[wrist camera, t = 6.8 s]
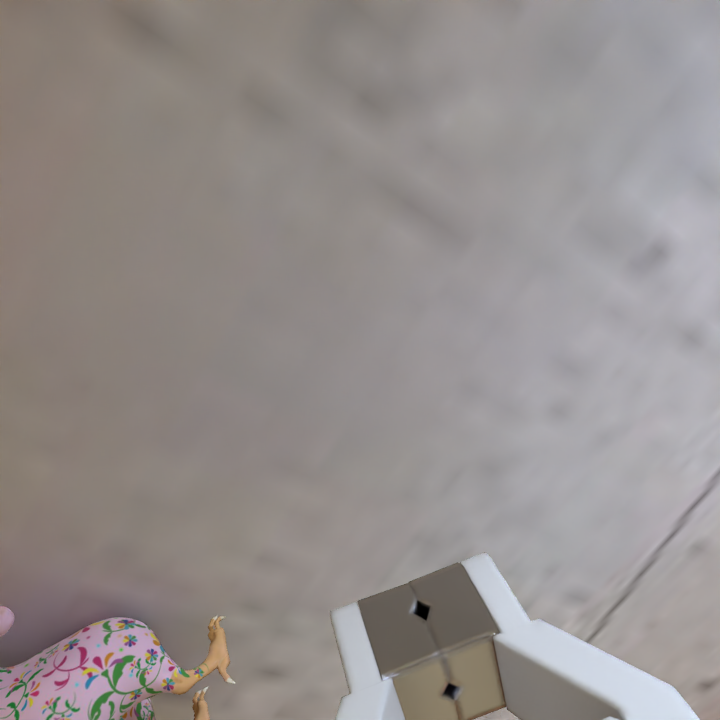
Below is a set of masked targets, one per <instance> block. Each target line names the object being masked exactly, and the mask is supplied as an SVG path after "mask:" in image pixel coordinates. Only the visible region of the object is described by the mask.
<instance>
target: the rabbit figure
mask: <svg viewBox="0 0 720 720" xmlns="http://www.w3.org/2000/svg"><path fill="white" fill-rule="evenodd" d="M217 617H218V615H216V616H215V617H213V618H212V619H211V621H210V624H209V626H208V628H209V631H210V632H209V634H208V637H209V639H210V640H211V643H210V647H209V652H208V656H207V658H206V659H205V661H204V662H203V663H202V664H201V665H199V666H198V667H196V668H194V669H191V670H184V669H182V668H180V667H179V666H178V665H177V664H176V663H175V662H174V661H173V660H172V659H171V658H170V657H169V655H168V654H167V653H166V652H165V650H164V649H163V647H162V645H161V643H160V641H159V640H158V638H157V636H156V635H155V633H154V632H153V631H152V630H151V629H150V628H149V627H148V626H147V625H146V624H144V623H143V622H140V621H138V620H135V619H131V618H122V617H116V618H108V619H104V620H101V621H98V622H95V623H93V624H91V625H89V626H87V627H85V628H83V629H81V630H79V631H77V632H76V633H74V634H72V635H70V636H69V637H67V638H65V639H63V640H61V641H60V642H58V643H56V644H54V645H52V646H50V647H48V648H47V649H45V650H43V651H41V652H40V653H38V654H36V655H35V656H33V657H32V658H30V659H28V660H27V661H25V662H23V663H21V664H18V665H15V666H12V667H6V668H0V720H156V719H155V715H154V711H153V706H152V703H151V700H150V697H153V696H155V695H157V694H159V693H163V692H170V693H173V694H178V695H180V694H184V693H186V692H187V691H188V690H189V689H190V688H191V687H192V686H193V685H194V684H195V683H197V682H198V681H199V680H201V679H202V678H204V677H205V676H207V675H208V674H210V673H211V672H212V671H213V670H215V669H216V668H217V669H218V671H219V673H220V674H221V675H222V677H223V679H224V680H225V681H226V683H231V684H236V683H235V682H234V681H233V680H232V678H231V677H230V676H229V675H228V674H227V673H226V669H227V667H228V665H229V664H230V659H229V654H228V651H227V645H226V637H225V632H224V629H223V628H220V625H219V621H221V620H223V619H224V618H226V617H225V616H219V617H218V618H217ZM13 622H14V614H13V612H12V611H11V610H10V609H9V608H7V607H5V606H0V637H1V636H3V635H4V634H5V633H6V632H7V631H9V629H10V628H11V626H12V624H13ZM213 625H215V628H216V629H215V630H214V629H213ZM208 688H209V687H206V688H204V689H203V690H200V691H197V692H196V693H195V695H194V698H193V703H194V705H193V707H192V708H193V710H194V713H195V714H194V717H195V718H194V720H210V718H209V712H208V706H207V703H206V702H205V701H204V695H205V693H206V691H207V689H208ZM201 691H202V692H201ZM199 695H200V700H199V701H197V698H198V697H199Z"/></svg>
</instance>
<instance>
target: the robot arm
mask: <svg viewBox="0 0 720 720" xmlns="http://www.w3.org/2000/svg"><path fill="white" fill-rule="evenodd" d="M358 605H359V606H358ZM359 608H360V609H359ZM360 611H361V612H360ZM361 614H362V615H361ZM330 616H331V622H332V626H333V630H334V634H335V638H336V642H337V646H338V650H339V653H340V657H341V661H342V665H343V669H344V673H345V677H346V681H347V684H348V688H349V692H350V694H349V695H346V696H344V697H342V699H341V702H340V705H339V708H338V711H337V714H336V717H335V720H473V719H475V718H478V717H481V716H483V715H486V714H488V713H491V712H494V711H496V710H499V709H501V708H504V707H507V710H509V711H510V712H511V713H513V714H514V715H515V716H517V717H518V718H519V719H521V720H700V719H699V718H698V717H697V715H696V714H695V713H694V711H693V710H692V709H691V708H690V706H689V705H688V704H687V703H686V701H685V700H684V699H683V698H682V696H681V695H680V694H679V693H678V691H677V690H676V689H675V688H674V687H673V686H671V685H669V684H667V683H665V682H663V681H661V680H659V679H657V678H655V677H653V676H652V675H650V674H648V673H646V672H644V671H642V670H640V669H638V668H636V667H634V666H632V665H630V664H628V663H626V662H624V661H622V660H620V659H618V658H616V657H614V656H612V655H610V654H608V653H606V652H604V651H602V650H600V649H598V648H596V647H594V646H592V645H590V644H588V643H586V642H584V641H582V640H580V639H578V638H576V637H574V636H573V635H571V634H569V633H567V632H565V631H563V630H561V629H559V628H557V627H555V626H553V625H551V624H549V623H547V622H545V621H543V620H541V619H536V620H533V621H531V620H530V619H529V617H528V616H527V614H526V612H525V611H524V609H523V608H522V606H521V605H520V603H519V601H518V600H517V598H516V597H515V595H514V594H513V592H512V590H511V589H510V587H509V586H508V584H507V582H506V581H505V579H504V578H503V576H502V575H501V573H500V571H499V570H498V568H497V567H496V565H495V564H494V562H493V560H492V559H491V557H490V556H489V555H488V554H487V553H485V552H484V553H482V554H479V555H477V556H474V557H471V558H469V559H466V560H464V561H461V562H460V563H455V564H452V565H450V566H447V567H445V568H442V569H440V570H437V571H435V572H432V573H430V574H427V575H425V576H422V577H420V578H417V579H415V580H412V581H410V582H409V583H407V584H404V585H401V586H398V587H395V588H392V589H390V590H387V591H384V592H381V593H378V594H375V595H373V596H370V597H367V598H364V599H361V600H358V603H357V602H354V603H351V604H348V605H346V606H343V607H340V608H337V609H335V610H332V611H330Z"/></svg>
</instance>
